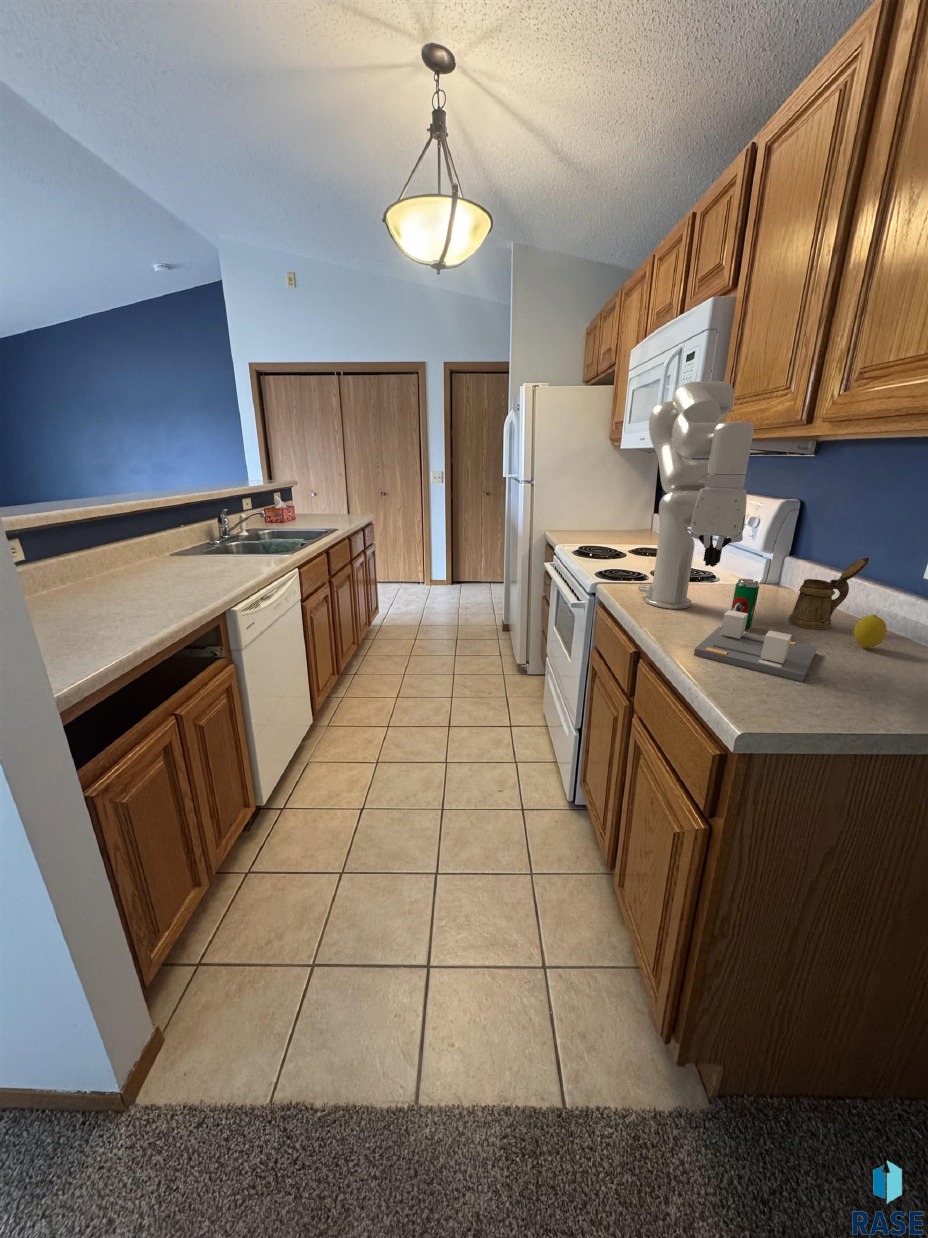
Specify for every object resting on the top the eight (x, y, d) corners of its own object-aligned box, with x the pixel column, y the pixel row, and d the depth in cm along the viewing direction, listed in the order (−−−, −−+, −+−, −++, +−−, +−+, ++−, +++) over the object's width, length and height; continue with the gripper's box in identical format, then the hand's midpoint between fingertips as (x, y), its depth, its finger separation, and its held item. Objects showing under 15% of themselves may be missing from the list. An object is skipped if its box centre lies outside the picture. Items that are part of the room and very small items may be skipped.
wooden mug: (856, 634, 120) (877, 561, 114) (792, 627, 124) (808, 556, 119) (844, 623, 128) (863, 554, 122) (784, 616, 132) (799, 550, 126)
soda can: (753, 631, 122) (763, 583, 118) (731, 629, 123) (740, 582, 119) (747, 624, 126) (756, 578, 122) (725, 623, 127) (734, 577, 123)
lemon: (852, 641, 115) (861, 609, 112) (882, 648, 111) (892, 614, 109) (847, 648, 111) (856, 614, 109) (878, 655, 108) (889, 620, 105)
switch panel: (693, 654, 107) (695, 647, 107) (717, 632, 121) (718, 625, 120) (802, 681, 95) (804, 673, 94) (815, 653, 108) (817, 646, 108)
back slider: (720, 634, 114) (724, 614, 112) (725, 630, 117) (728, 610, 115) (739, 638, 112) (743, 617, 110) (743, 634, 114) (747, 613, 113)
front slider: (760, 658, 101) (765, 635, 99) (764, 652, 104) (769, 630, 102) (782, 663, 99) (788, 640, 97) (786, 657, 101) (791, 634, 100)
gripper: (683, 481, 110) (671, 563, 116) (759, 485, 100) (743, 573, 106) (694, 480, 115) (682, 558, 121) (767, 483, 106) (751, 567, 112)
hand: (710, 565), depth 114 cm, fingers closed
